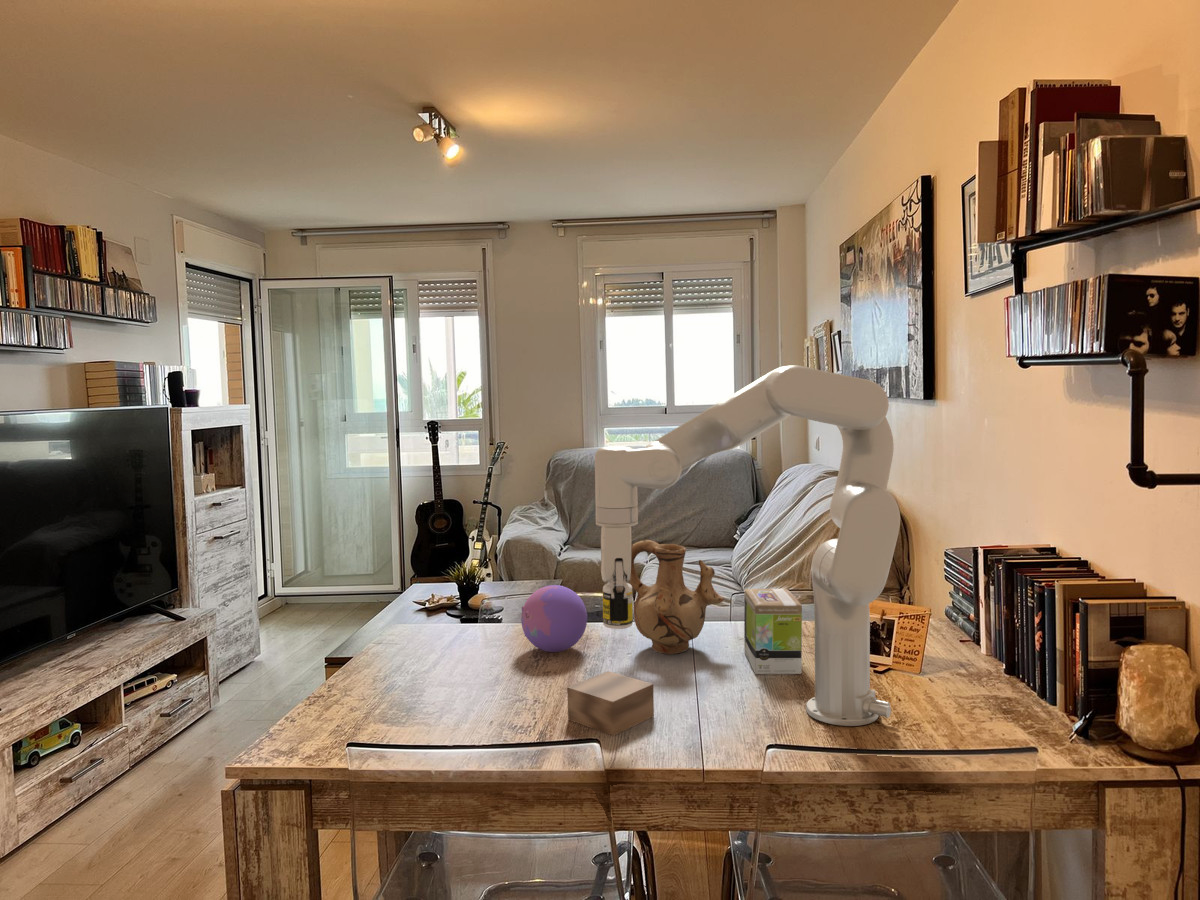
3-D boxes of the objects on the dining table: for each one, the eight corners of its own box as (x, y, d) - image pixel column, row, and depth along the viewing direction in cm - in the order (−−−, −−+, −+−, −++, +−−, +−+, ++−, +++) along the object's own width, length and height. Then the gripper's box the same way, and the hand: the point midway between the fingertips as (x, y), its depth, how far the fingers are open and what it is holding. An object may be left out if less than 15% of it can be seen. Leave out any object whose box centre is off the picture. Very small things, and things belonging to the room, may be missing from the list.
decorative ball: (513, 646, 194) (511, 583, 193) (572, 637, 201) (570, 575, 200) (535, 665, 181) (533, 597, 180) (598, 654, 187) (596, 588, 186)
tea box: (803, 675, 171) (803, 604, 170) (754, 675, 171) (753, 605, 170) (788, 651, 186) (788, 586, 185) (743, 652, 186) (742, 587, 185)
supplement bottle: (597, 627, 149) (597, 573, 148) (611, 620, 154) (610, 567, 153) (624, 631, 146) (624, 576, 146) (637, 623, 151) (637, 570, 150)
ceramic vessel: (664, 667, 177) (662, 551, 175) (610, 646, 193) (608, 539, 191) (725, 650, 188) (725, 540, 186) (670, 631, 203) (669, 530, 201)
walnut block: (653, 716, 151) (653, 683, 151) (613, 735, 143) (612, 701, 143) (608, 701, 159) (608, 671, 158) (568, 719, 151) (567, 687, 150)
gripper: (594, 509, 157) (595, 603, 158) (597, 524, 140) (598, 630, 141) (633, 508, 157) (634, 603, 159) (642, 523, 140) (642, 629, 141)
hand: (617, 614), depth 150 cm, fingers closed on supplement bottle, 5 cm apart
